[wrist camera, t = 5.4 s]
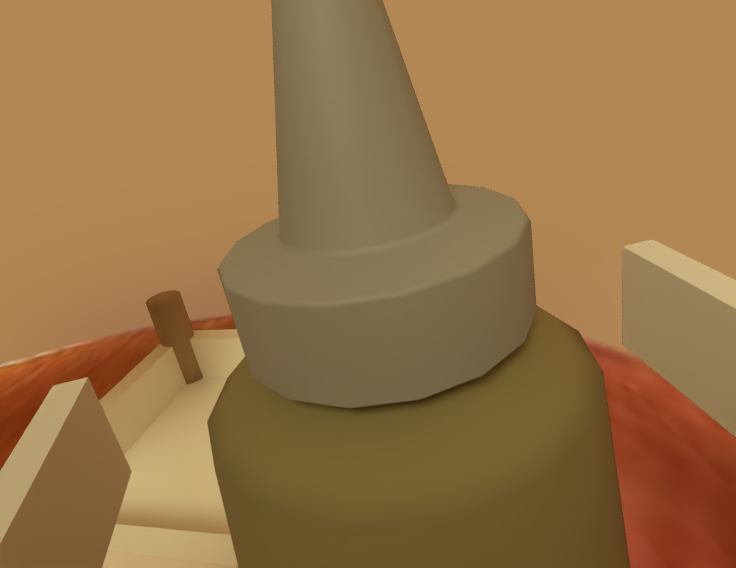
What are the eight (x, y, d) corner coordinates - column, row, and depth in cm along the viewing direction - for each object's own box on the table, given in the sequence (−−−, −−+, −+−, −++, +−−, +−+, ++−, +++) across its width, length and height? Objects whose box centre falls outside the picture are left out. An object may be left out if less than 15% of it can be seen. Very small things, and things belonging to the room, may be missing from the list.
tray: (-1, 597, 22) (-80, 480, 19) (191, 380, 34) (158, 291, 31) (347, 653, 17) (303, 510, 15) (424, 380, 29) (407, 277, 27)
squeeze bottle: (482, 561, 19) (400, -30, 12) (725, 801, 13) (880, -186, 5) (266, 719, 16) (-33, 37, 9) (444, 1158, 9) (-186, -157, 2)
